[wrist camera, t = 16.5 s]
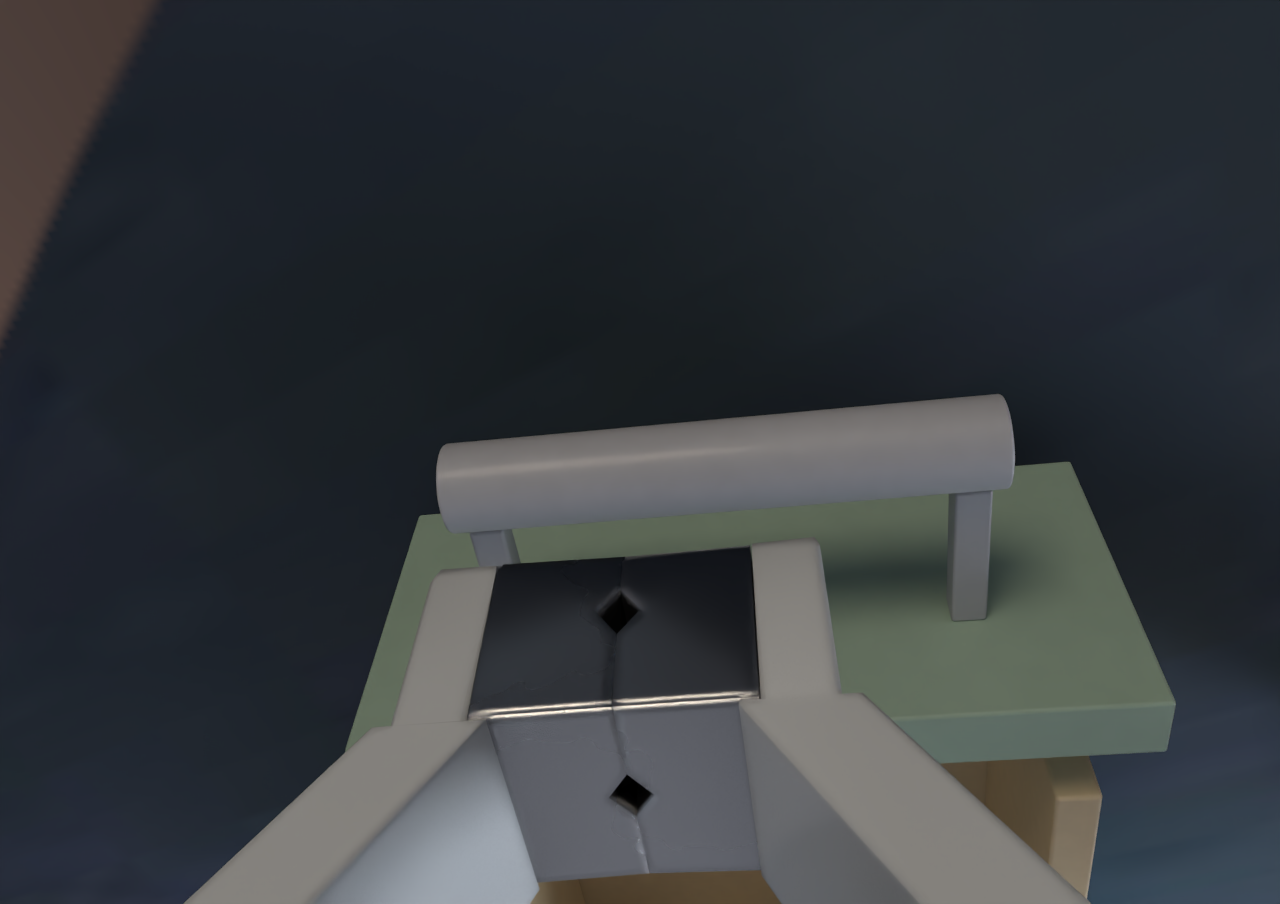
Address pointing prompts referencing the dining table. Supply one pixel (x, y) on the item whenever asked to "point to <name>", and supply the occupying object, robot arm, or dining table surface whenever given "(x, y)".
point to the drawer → (846, 590)
